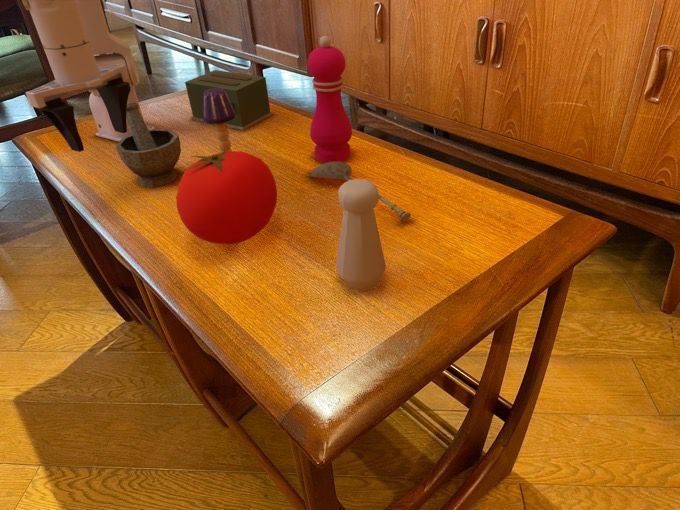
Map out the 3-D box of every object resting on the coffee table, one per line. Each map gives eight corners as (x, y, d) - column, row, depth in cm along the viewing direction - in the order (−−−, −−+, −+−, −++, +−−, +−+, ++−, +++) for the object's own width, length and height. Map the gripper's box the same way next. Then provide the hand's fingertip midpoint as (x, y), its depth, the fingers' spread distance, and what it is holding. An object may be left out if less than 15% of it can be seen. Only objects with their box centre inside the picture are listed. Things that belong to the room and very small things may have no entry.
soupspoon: (335, 167, 87) (303, 181, 84) (332, 149, 85) (300, 163, 82) (423, 214, 71) (388, 233, 69) (423, 193, 70) (386, 211, 67)
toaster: (187, 122, 107) (178, 83, 102) (222, 105, 114) (215, 68, 109) (238, 133, 100) (231, 92, 95) (272, 114, 107) (266, 76, 103)
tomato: (299, 235, 69) (289, 158, 62) (203, 272, 64) (181, 192, 57) (261, 199, 78) (249, 129, 71) (174, 229, 72) (152, 155, 66)
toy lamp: (214, 198, 79) (189, 92, 69) (236, 186, 82) (215, 82, 72) (235, 206, 77) (213, 98, 67) (257, 193, 80) (238, 87, 70)
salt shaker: (335, 268, 63) (328, 174, 55) (381, 263, 63) (380, 169, 55) (339, 298, 58) (332, 200, 50) (389, 294, 58) (389, 195, 51)
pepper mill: (338, 168, 85) (331, 43, 73) (304, 159, 89) (291, 39, 77) (360, 152, 90) (357, 32, 78) (327, 144, 93) (319, 29, 82)
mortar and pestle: (195, 179, 85) (178, 109, 78) (141, 198, 80) (117, 126, 73) (170, 158, 92) (152, 93, 85) (119, 174, 88) (96, 107, 81)
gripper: (32, 60, 61) (73, 164, 69) (129, 34, 71) (156, 127, 78) (1, 55, 64) (43, 155, 72) (98, 31, 74) (126, 121, 82)
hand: (100, 140), depth 75 cm, fingers open, 7 cm apart
